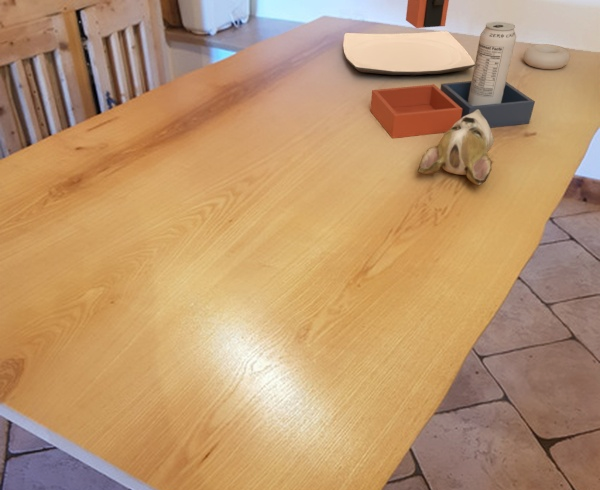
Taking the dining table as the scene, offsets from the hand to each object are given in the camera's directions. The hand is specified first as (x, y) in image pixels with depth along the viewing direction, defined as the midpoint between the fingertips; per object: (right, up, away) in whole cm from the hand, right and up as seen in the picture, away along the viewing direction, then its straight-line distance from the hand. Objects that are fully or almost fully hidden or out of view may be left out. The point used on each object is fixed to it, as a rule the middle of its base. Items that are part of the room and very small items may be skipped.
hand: (425, 21), depth 91 cm
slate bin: (+14, -11, +13) cm, 22 cm away
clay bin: (0, -13, +11) cm, 17 cm away
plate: (+4, +10, +38) cm, 40 cm away
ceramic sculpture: (+5, -26, -4) cm, 26 cm away
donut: (+35, +8, +35) cm, 50 cm away
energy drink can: (+14, -11, +13) cm, 22 cm away
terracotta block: (0, 0, 0) cm, 0 cm away
